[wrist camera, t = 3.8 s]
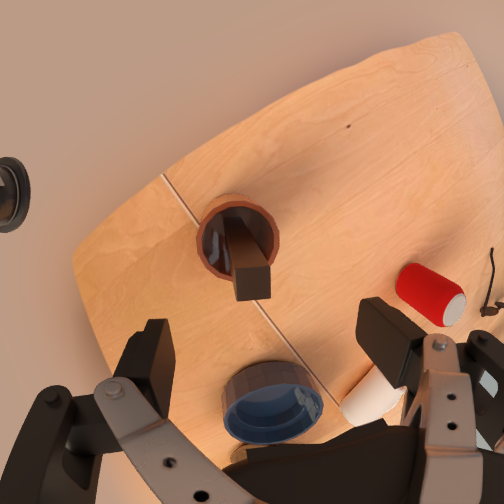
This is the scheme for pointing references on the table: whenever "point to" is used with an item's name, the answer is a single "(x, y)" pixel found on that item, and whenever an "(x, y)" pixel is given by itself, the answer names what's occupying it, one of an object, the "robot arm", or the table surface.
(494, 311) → the eyeglasses
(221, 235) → the holder
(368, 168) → the table surface
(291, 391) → the bowl
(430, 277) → the beverage can
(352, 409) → the mug
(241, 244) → the stick
